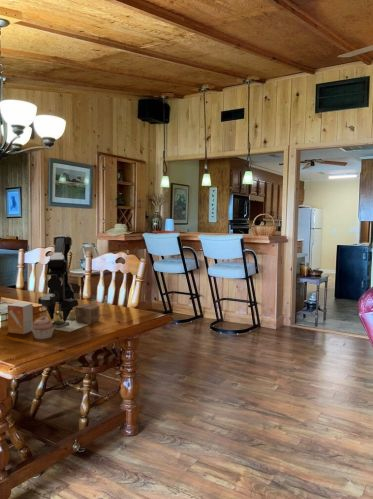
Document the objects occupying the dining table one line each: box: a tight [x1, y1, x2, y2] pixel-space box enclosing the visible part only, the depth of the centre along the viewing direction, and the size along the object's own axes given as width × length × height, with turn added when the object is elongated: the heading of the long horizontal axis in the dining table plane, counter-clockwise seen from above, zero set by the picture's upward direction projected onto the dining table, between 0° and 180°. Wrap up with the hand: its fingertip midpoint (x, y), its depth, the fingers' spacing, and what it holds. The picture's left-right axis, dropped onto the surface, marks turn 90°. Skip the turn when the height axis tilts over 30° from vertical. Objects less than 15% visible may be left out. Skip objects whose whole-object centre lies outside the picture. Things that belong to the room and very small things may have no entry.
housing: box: [75, 303, 100, 325], centre depth 191 cm, size 8×7×7 cm
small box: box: [7, 301, 34, 335], centre depth 176 cm, size 8×6×13 cm
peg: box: [53, 310, 63, 326], centre depth 185 cm, size 4×4×6 cm
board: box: [51, 309, 98, 333], centre depth 189 cm, size 18×20×5 cm
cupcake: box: [31, 315, 55, 340], centre depth 169 cm, size 9×9×10 cm
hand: (58, 320), depth 185 cm, fingers open, 7 cm apart
